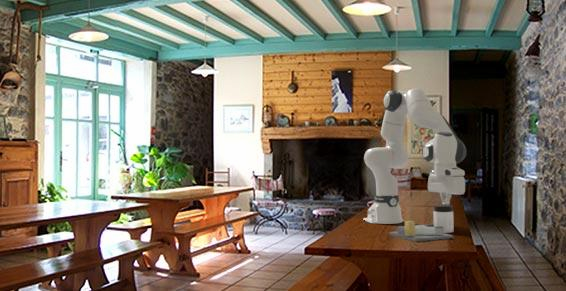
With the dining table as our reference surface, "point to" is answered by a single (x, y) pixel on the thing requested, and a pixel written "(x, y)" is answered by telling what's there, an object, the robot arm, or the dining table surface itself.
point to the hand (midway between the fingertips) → (445, 204)
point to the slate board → (421, 237)
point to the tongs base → (402, 228)
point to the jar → (443, 217)
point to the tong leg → (429, 230)
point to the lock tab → (410, 228)
